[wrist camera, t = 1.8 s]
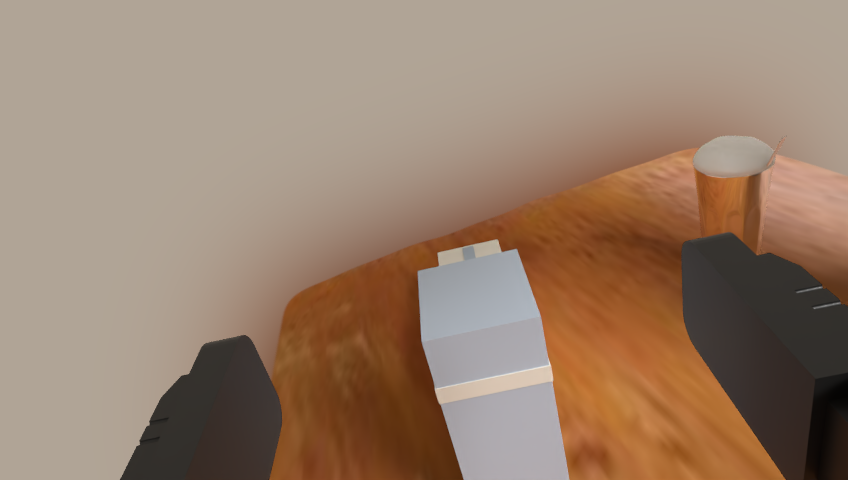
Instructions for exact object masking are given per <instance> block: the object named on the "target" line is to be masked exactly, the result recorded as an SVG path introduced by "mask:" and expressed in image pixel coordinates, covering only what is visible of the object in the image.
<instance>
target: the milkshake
mask: <svg viewBox="0 0 848 480" xmlns="http://www.w3.org/2000/svg"><path fill="white" fill-rule="evenodd" d="M785 138H786V136H785V137H783V138H782V139H781V141H780V142H779V144H778V146H777V148H776V149H775V151H773V150H772V149H771V148H770V147H769V146H768V145H767V144H766V143H764V142H762V141H760V140H758V139H756V138H753V137H749V136H748V137H747V136H746V137H745V136H721V137H718V138H715V139H713V140H711V141H710V142H708V143H706V144H704V145H703V146H702V147H700V149H699V150H698V151H697V152H696V154H695V155H694V158H693V167H694V174H695V181H696V189H697V196H698V205H699V216H700V226H701V236H702V238H703V237H708V236H712V235H717V234H722V233H726V232H731V233H733V234H735V235H736V236H737V237H738V238H739V239H740V240H741V241H742V242H743V243H744V244H745V245H747V246H748V247H749V248H750V249H751V250H752V251H753V252H754V253H755V254H756V255H760V250H761V243H762V236H763V229H764V222H765V215H766V208H767V201H768V196H769V190H770V185H771V180H772V174H773V169H774V163H775V158H776V154H777V152H778V150H779V149H780V147H781V145H782V143H783V142H784V140H785Z"/></svg>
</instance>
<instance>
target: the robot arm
mask: <svg viewBox="0 0 848 480" xmlns="http://www.w3.org/2000/svg"><path fill="white" fill-rule="evenodd" d="M682 293H683V316H684V322H685V326H686V329H687V332H688V335H689V337H690V340H691V342H692V344H693V345H694V347H695V349H696V350H697V351H698V353H699V354H700V356H701V357H702V359H703V360H704V362H705V363H706V364H707V366H708V367H709V369H710V370H711V372H712V373H713V375H714V376H715V377H716V379H717V380H718V382H719V383H720V385H721V386H722V388H723V389H724V391H725V392H726V393H727V395H728V396H729V398H730V399H731V401H732V402H733V404H734V405H735V406H736V408H737V409H738V411H739V412H740V414H741V415H742V417H743V418H744V419H745V421H746V422H747V424H748V425H749V427H750V428H751V430H752V431H753V433H754V434H755V435H756V437H757V438H758V440H759V441H760V443H761V444H762V446H763V447H764V448H765V450H766V451H767V453H768V454H769V456H770V457H771V459H772V460H773V461H774V463H775V464H776V466H777V467H778V469H779V470H780V472H781V473H782V474H783V476H784V477H785V479H786V480H848V307H847V306H846V305H845V304H843V305H842V304H841V303H840V300H839V299H838V298H837V297H836V296H835V295H833V294H832V293H831V292H830V291H829V290H828V289H827V288H825V289H823V287H822V284H821V283H820V282H818V281H817V280H816V279H815V278H814V277H813V276H811V275H810V274H809V273H808V272H807V271H806V270H805V269H803V268H802V267H801V266H799V265H797V264H795V263H792V262H790V261H788V260H785V259H783V258H781V257H778V256H776V255H774V254H771V253H767V254H762V255H756V254H755V253H754V252H753V251H752V250H751V249H750V248H749V247H748V246H747V245H745V244H744V243H743V242H742V241H741V240H740V239H739V238H738V237H737V236H736V235H735V234H733V233H731V232H726V233H722V234H717V235H712V236H708V237H703V238H698V239H694V240H689V241H685V242H684V244H683V246H682ZM149 422H150V426H147V427H146V429H145V431H144V433H143V435H142V437H141V439H140V445H139V446H137V447H136V449H135V451H134V453H133V455H132V457H131V459H130V461H129V463H128V465H127V467H126V469H125V471H124V473H123V475H122V477H121V479H120V480H269V478H270V474H271V470H272V466H273V461H274V457H275V453H276V448H277V444H278V440H279V436H280V431H281V426H282V412H281V405H280V401H279V397H278V395H277V392H276V390H275V388H274V386H273V384H272V382H271V380H270V378H269V376H268V373H267V371H266V369H265V367H264V365H263V363H262V361H261V359H260V357H259V354H258V352H257V350H256V348H255V346H254V344H253V342H252V341H251V339H250V338H249V337H248V336H246V335H242V336H237V337H233V338H229V339H223V340H219V341H214V342H210V343H206V344H204V345H203V346H202V348H201V350H200V352H199V354H198V356H197V358H196V360H195V362H194V365H193V367H192V369H191V371H190V373H189V374H188V375H183V376H181V377H180V378H179V379H178V380H177V381H176V383H174V384H173V386H172V387H171V388H170V389H169V390H168V391H167V392H166V393H165V394H164V395H163V396H162V397H161V399H160V401H159V403H158V405H157V407H156V409H155V411H154V413H153V415H152V417H151V419H150V421H149Z"/></svg>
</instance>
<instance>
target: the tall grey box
mask: <svg viewBox="0 0 848 480" xmlns="http://www.w3.org/2000/svg"><path fill="white" fill-rule="evenodd" d="M418 287H419V305H420V323H421V341H422V345H423V348H424V351H425V355H426V358H427V361H428V365H429V368H430V371H431V374H432V378H433V381H434V387H435V392H436V396H437V399H438V402H439V404H441V407H442V410H443V414H444V417H445V420H446V423H447V427H448V430H449V433H450V437H451V440H452V443H453V446H454V450H455V453H456V456H457V459H458V463H459V466H460V469H461V472H462V476H463V479H464V480H569V475H568V469H567V463H566V458H565V452H564V446H563V441H562V435H561V429H560V423H559V418H558V412H557V406H556V401H555V395H554V389H553V383H552V381H553V375H552V369H551V365H550V362H549V359H548V355H547V349H546V343H545V338H544V332H543V326H542V321H541V316H540V313H539V310H538V307H537V304H536V302H535V299H534V296H533V293H532V290H531V288H530V285H529V282H528V279H527V276H526V273H525V271H524V268H523V265H522V262H521V259H520V257H519V254H518V251H517V249H514V250H509V251H505V252H500V253H496V254H491V255H487V256H483V257H478V258H474V259H469V260H465V261H460V262H456V263H451V264H447V265H442V266H438V267H433V268H429V269H424V270H420V271H418Z"/></svg>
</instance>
